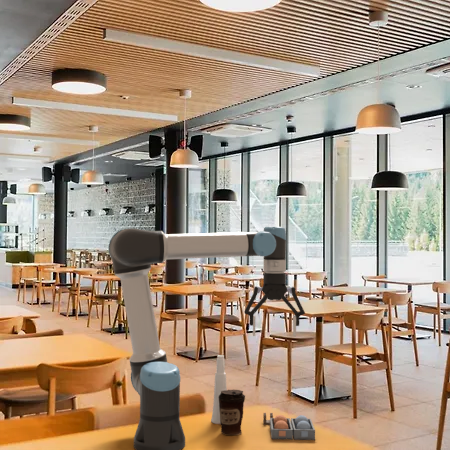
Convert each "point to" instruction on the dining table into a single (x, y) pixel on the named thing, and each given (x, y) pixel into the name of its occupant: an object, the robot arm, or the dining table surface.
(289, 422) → the grey sorting trays
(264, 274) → the robot arm
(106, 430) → the dining table surface
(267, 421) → the ball stand
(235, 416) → the coffee cup
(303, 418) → the slate ball
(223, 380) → the cosmetic bottle
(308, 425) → the slate ball
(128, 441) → the dining table surface
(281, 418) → the rust ball
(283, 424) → the orange ball
